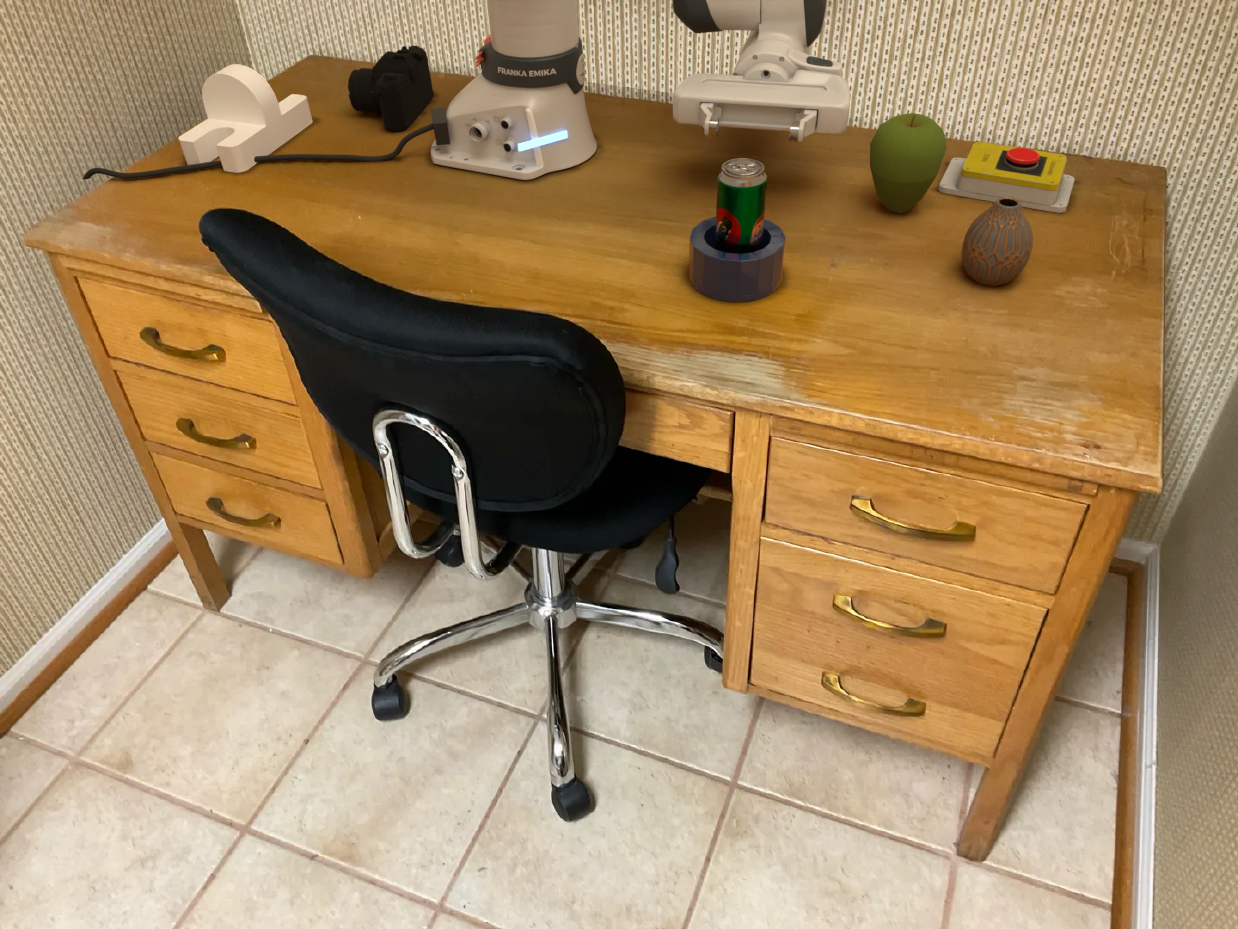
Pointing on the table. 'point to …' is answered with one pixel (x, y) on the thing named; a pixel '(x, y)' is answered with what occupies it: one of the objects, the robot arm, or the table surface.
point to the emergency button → (1010, 176)
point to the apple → (906, 159)
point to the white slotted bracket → (242, 120)
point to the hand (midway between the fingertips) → (753, 132)
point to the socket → (735, 265)
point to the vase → (998, 243)
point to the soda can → (740, 206)
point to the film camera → (393, 87)
